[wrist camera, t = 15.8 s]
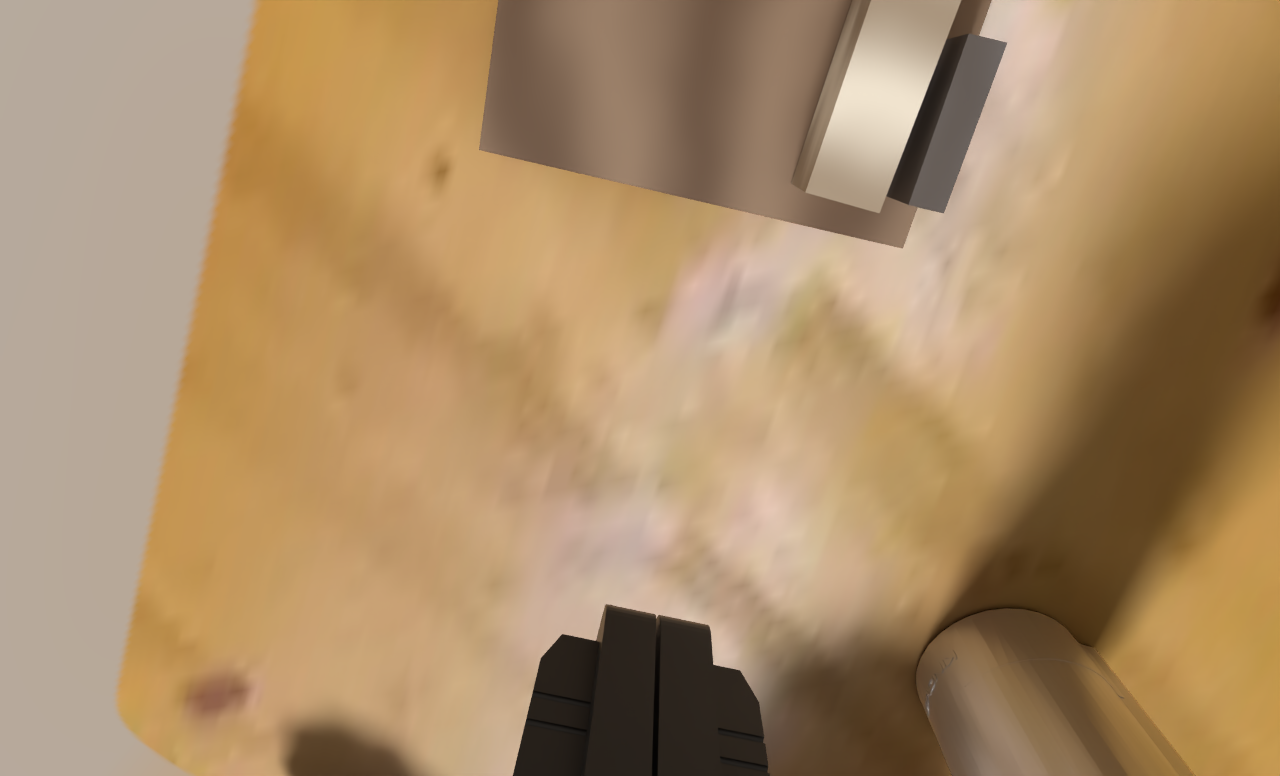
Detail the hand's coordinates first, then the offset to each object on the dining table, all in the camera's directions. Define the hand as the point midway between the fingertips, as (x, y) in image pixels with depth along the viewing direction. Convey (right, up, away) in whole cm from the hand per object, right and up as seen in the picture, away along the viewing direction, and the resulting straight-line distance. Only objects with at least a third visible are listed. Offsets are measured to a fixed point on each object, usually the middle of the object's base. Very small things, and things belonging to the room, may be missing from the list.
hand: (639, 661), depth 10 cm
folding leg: (+10, +19, +18) cm, 28 cm away
